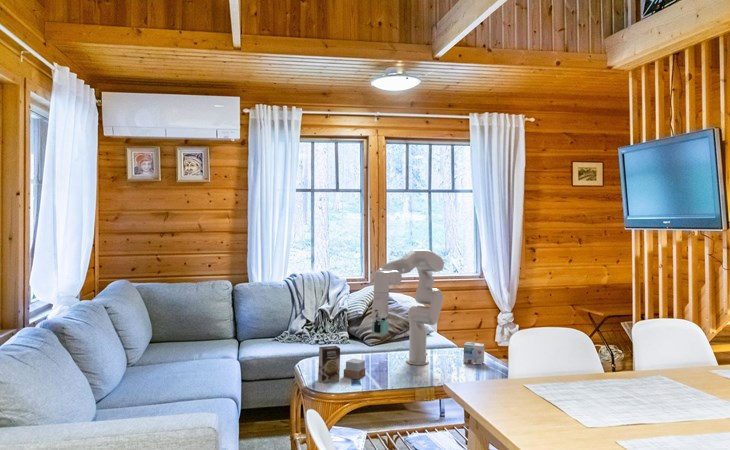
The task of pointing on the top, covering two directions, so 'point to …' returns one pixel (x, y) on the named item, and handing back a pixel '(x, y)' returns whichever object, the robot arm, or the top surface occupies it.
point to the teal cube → (381, 327)
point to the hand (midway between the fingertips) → (380, 331)
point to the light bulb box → (473, 353)
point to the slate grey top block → (355, 365)
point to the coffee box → (329, 364)
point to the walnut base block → (354, 374)
